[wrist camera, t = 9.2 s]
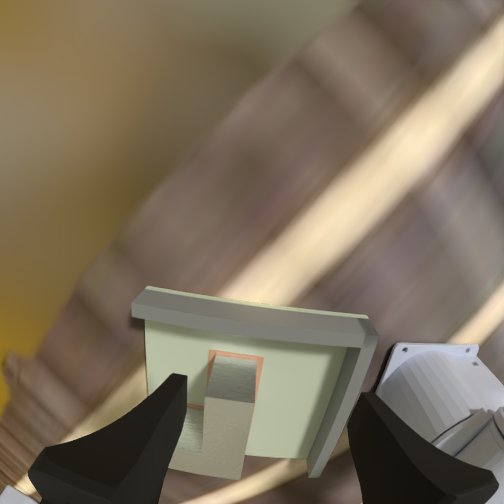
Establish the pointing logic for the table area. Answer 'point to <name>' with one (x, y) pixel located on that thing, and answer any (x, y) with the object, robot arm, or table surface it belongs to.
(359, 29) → the table surface
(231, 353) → the arena
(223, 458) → the bracket
